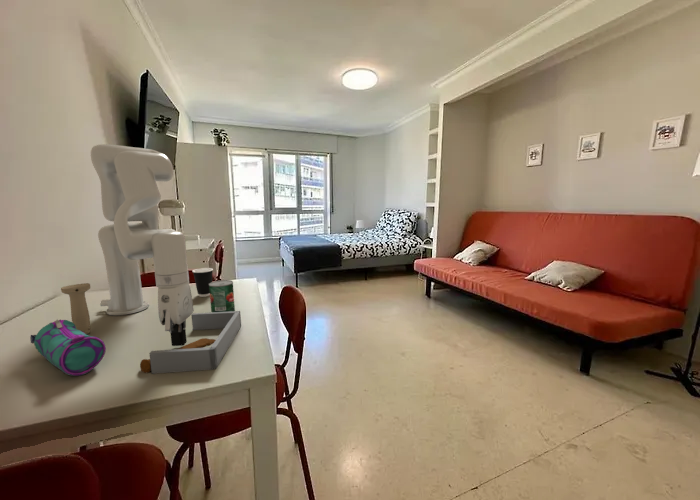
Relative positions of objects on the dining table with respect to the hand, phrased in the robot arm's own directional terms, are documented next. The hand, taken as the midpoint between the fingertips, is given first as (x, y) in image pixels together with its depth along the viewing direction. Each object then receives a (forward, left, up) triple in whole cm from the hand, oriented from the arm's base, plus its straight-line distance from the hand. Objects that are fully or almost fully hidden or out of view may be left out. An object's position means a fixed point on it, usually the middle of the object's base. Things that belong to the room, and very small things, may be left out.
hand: (179, 344), depth 82 cm
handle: (-33, +13, -1) cm, 35 cm away
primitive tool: (+2, -3, -2) cm, 4 cm away
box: (+6, 0, -1) cm, 6 cm away
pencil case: (-23, -5, -1) cm, 24 cm away
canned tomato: (+4, +26, -1) cm, 26 cm away
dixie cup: (-10, +49, -1) cm, 50 cm away
